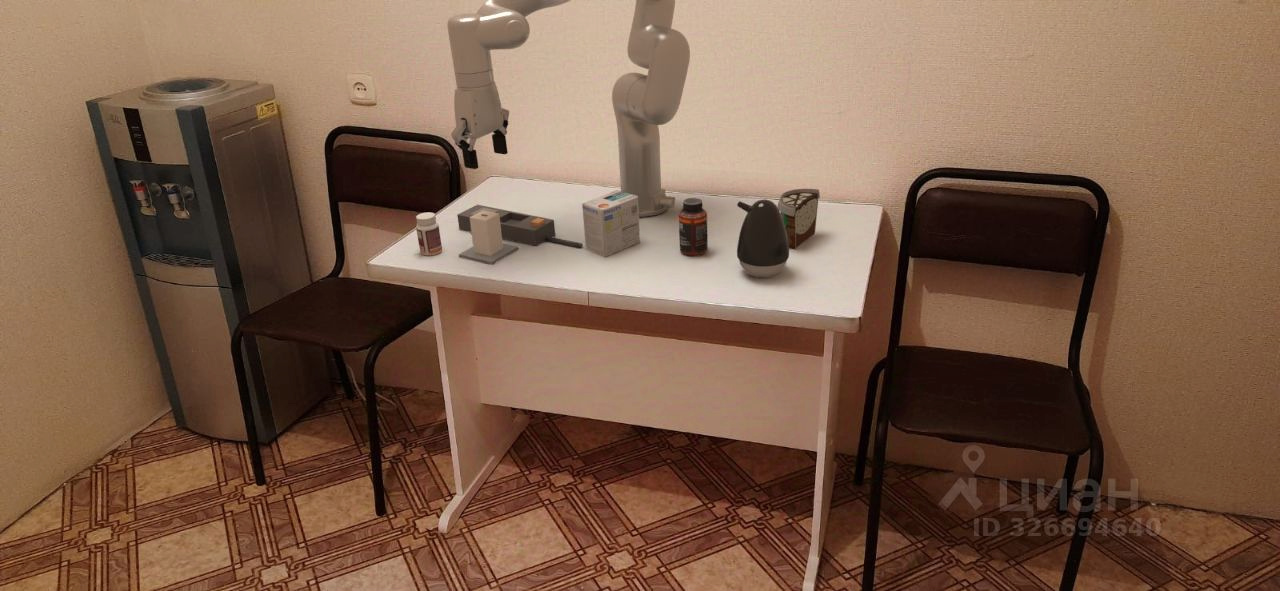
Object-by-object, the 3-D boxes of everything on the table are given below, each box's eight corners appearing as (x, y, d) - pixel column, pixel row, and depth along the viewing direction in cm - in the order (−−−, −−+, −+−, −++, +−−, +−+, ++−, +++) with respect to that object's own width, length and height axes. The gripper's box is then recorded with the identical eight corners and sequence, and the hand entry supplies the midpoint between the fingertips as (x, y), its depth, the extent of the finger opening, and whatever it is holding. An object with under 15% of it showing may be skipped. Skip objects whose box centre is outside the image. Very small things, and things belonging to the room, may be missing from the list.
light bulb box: (620, 234, 200) (617, 188, 195) (641, 242, 195) (639, 195, 191) (584, 249, 193) (580, 202, 188) (605, 258, 189) (602, 209, 184)
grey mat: (518, 249, 195) (518, 246, 194) (491, 264, 188) (491, 262, 188) (486, 241, 199) (486, 239, 199) (459, 256, 192) (458, 254, 192)
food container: (792, 227, 200) (794, 184, 195) (817, 232, 196) (820, 188, 192) (765, 246, 191) (767, 201, 186) (792, 252, 188) (794, 207, 183)
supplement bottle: (712, 248, 191) (712, 198, 186) (699, 259, 186) (699, 207, 181) (687, 243, 194) (686, 194, 189) (674, 254, 189) (673, 203, 184)
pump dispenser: (744, 258, 186) (745, 188, 179) (793, 265, 182) (796, 193, 175) (729, 279, 177) (729, 206, 170) (781, 286, 174) (783, 212, 167)
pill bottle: (445, 247, 197) (439, 211, 194) (438, 256, 193) (433, 219, 189) (424, 247, 198) (418, 211, 194) (417, 256, 194) (411, 219, 190)
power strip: (591, 242, 196) (590, 223, 194) (573, 254, 191) (571, 234, 189) (479, 218, 212) (476, 201, 210) (459, 229, 206) (456, 211, 204)
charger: (503, 248, 194) (499, 213, 190) (490, 255, 190) (485, 220, 187) (487, 244, 196) (482, 210, 192) (474, 252, 193) (469, 217, 189)
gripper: (487, 67, 188) (498, 146, 196) (431, 88, 175) (445, 171, 183) (515, 69, 185) (525, 150, 193) (461, 91, 172) (474, 176, 180)
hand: (486, 160), depth 188 cm, fingers open, 9 cm apart
